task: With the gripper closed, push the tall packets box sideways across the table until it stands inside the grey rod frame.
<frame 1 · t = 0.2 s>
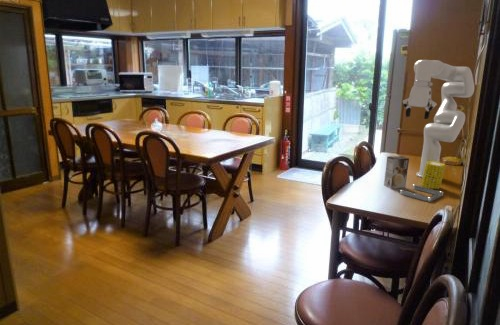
hand: (416, 117, 195), 36 cm above the table, tool pointing down, fingers open, 9 cm apart
food: (431, 187, 198), on the table
grey rod frame: (420, 194, 186), on the table
coffee box: (394, 186, 198), on the table
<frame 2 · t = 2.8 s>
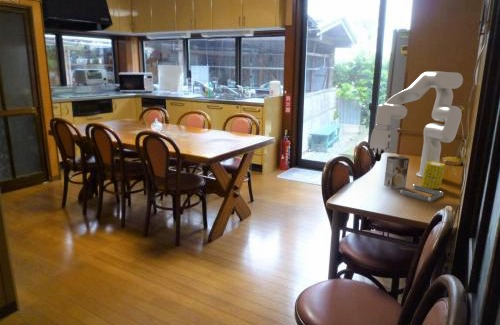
hand: (377, 160, 202), 12 cm above the table, tool pointing down, fingers closed
nothing on the table moved.
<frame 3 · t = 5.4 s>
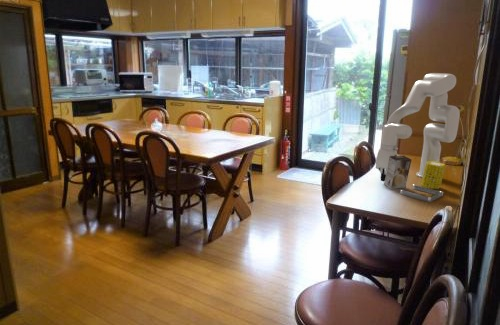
hand: (383, 180, 201), 2 cm above the table, tool pointing down, fingers closed
coffee box: (394, 186, 198), on the table, touching gripper
everything else where it was.
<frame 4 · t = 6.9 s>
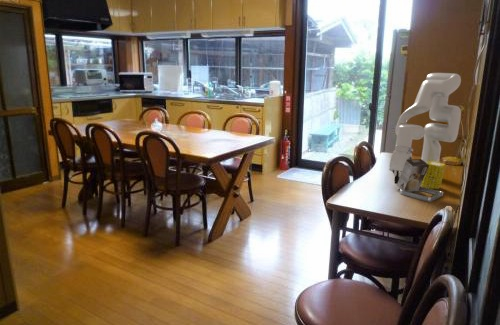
hand: (397, 183, 194), 3 cm above the table, tool pointing down, fingers closed
coffee box: (406, 188, 192), point 1 cm above the table, touching gripper
everything else where it was.
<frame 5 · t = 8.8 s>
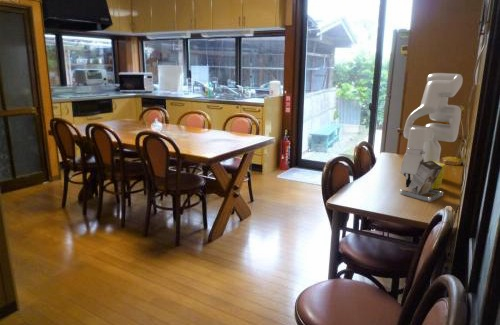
hand: (408, 186, 190), 2 cm above the table, tool pointing down, fingers closed
coffee box: (417, 191, 188), point 1 cm above the table, touching grey rod frame, gripper
everything else where it was.
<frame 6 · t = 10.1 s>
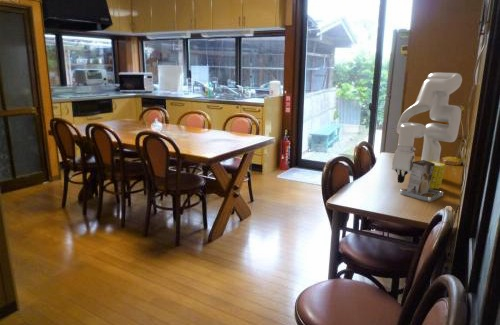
hand: (400, 182, 195), 3 cm above the table, tool pointing down, fingers closed
coffee box: (416, 192, 188), on the table
everything else where it was.
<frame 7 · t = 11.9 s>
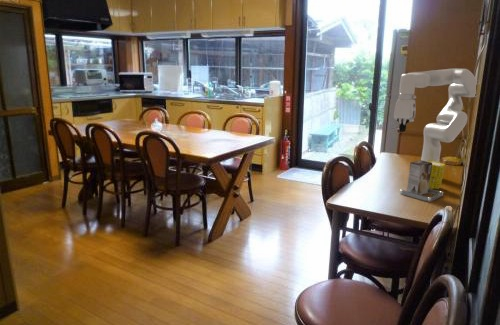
hand: (402, 131, 202), 28 cm above the table, tool pointing down, fingers closed
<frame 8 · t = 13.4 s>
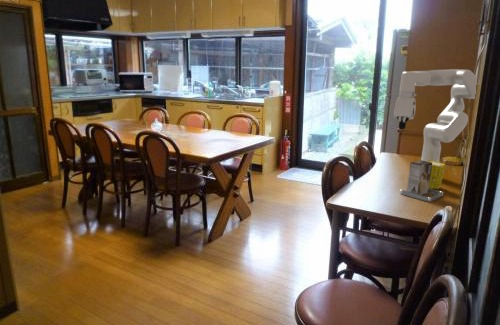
hand: (401, 129, 203), 29 cm above the table, tool pointing down, fingers closed
nothing on the table moved.
at the end: coffee box inside the target area on the grey rod frame (3.2 cm from its centre), point 0.0 cm above the grey rod frame's base; coffee box tilted 0° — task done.
